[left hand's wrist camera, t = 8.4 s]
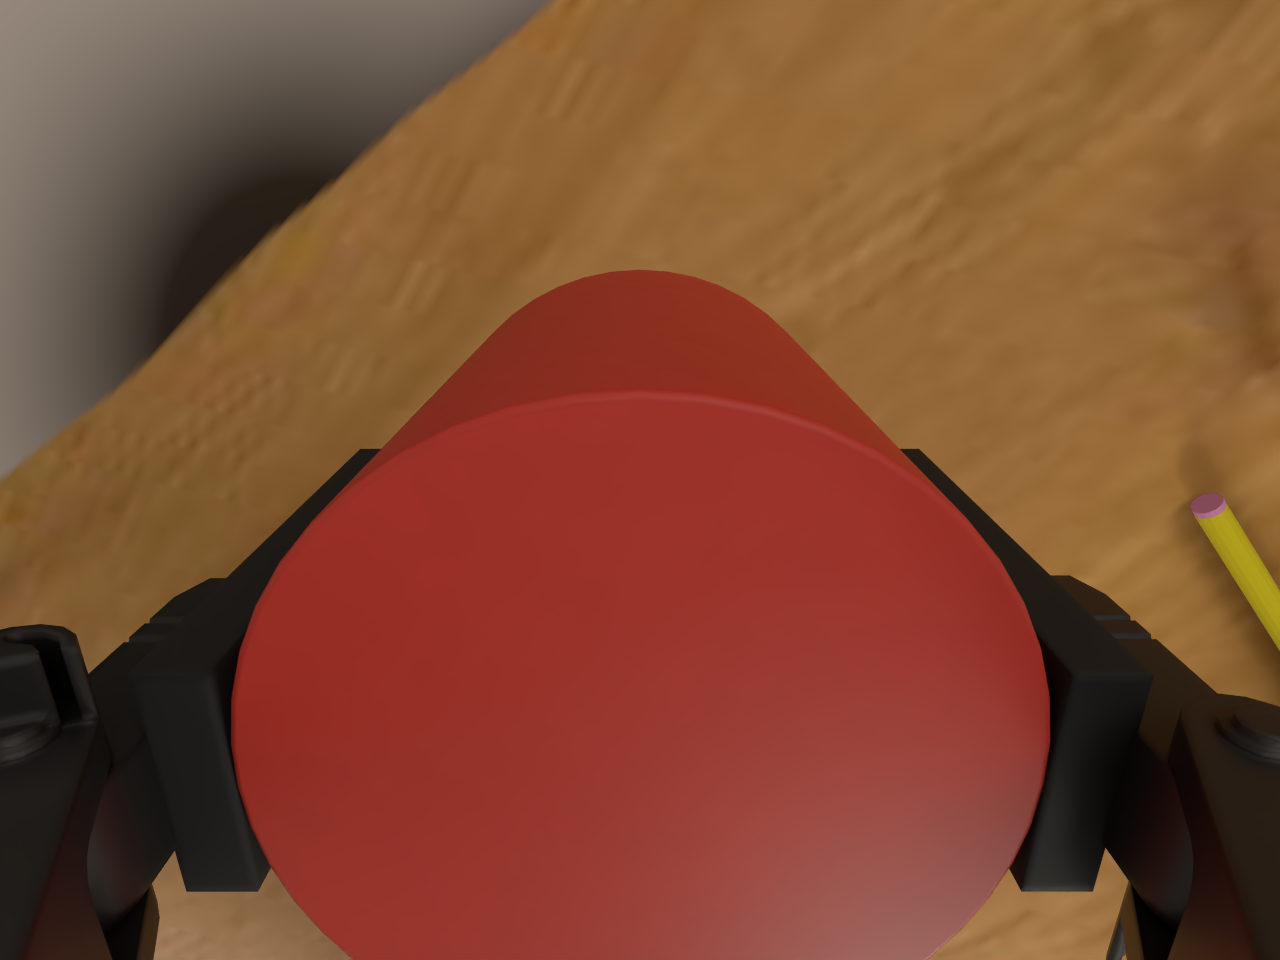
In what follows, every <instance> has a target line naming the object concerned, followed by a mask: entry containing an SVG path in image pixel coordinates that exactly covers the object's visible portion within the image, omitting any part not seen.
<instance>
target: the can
mask: <svg viewBox="0 0 1280 960" xmlns="http://www.w3.org/2000/svg"><path fill="white" fill-rule="evenodd" d="M1049 746H1050V697H1049V690H1048V684H1047V679H1046V673H1045V668H1044V662H1043V657H1042V651H1041V647H1040V644H1039V641H1038V639H1037V636H1036V633H1035V630H1034V628H1033V625H1032V622H1031V619H1030V617H1029V614H1028V611H1027V608H1026V606H1025V603H1024V601H1023V599H1022V598H1021V596H1020V594H1019V592H1018V591H1017V589H1016V587H1015V585H1014V584H1013V582H1012V580H1011V578H1010V576H1009V575H1008V573H1007V571H1006V569H1005V568H1004V566H1003V564H1002V562H1001V561H1000V559H999V558H998V557H997V555H996V554H995V553H994V552H993V550H992V549H991V548H990V547H989V545H988V544H987V543H986V542H985V540H984V539H983V538H982V537H981V535H980V534H979V533H978V532H977V530H976V529H975V528H974V527H973V525H972V524H971V523H970V522H969V520H968V519H967V518H966V517H965V516H964V515H963V514H962V513H961V512H960V511H959V510H958V509H957V508H956V507H955V506H954V505H953V504H952V503H951V502H950V501H949V500H948V498H947V497H946V496H945V495H944V494H943V493H942V492H941V491H940V490H939V489H938V488H937V487H936V486H935V485H934V484H933V483H932V482H931V481H930V480H929V479H928V478H927V477H926V476H925V475H924V474H923V473H922V472H921V471H920V470H919V469H918V468H917V466H916V465H915V464H914V463H913V462H912V461H911V460H910V459H909V458H908V457H907V456H906V455H905V454H904V453H903V452H902V451H901V450H900V449H899V448H898V447H897V446H896V445H895V444H894V443H893V442H892V441H891V440H890V439H889V438H888V437H887V435H886V434H885V433H884V432H883V431H882V430H881V429H880V428H879V427H878V426H877V425H876V424H875V423H874V422H873V421H872V420H871V419H870V418H869V417H868V416H867V415H866V414H865V413H864V412H863V411H862V410H861V409H860V408H859V407H858V406H857V405H856V403H855V402H854V401H853V400H852V399H851V398H850V397H849V396H848V395H847V394H846V393H845V392H844V391H843V390H842V389H841V388H840V387H839V386H838V385H837V384H836V383H835V382H834V381H833V380H832V379H831V378H830V377H829V376H828V375H827V374H826V372H825V371H824V370H823V369H822V368H821V367H820V366H819V365H818V364H817V363H816V362H815V361H814V360H813V359H812V358H811V357H810V356H809V355H808V354H807V353H806V352H805V351H804V350H803V349H802V348H801V347H800V346H799V345H798V344H797V343H796V342H795V340H794V339H793V338H792V337H791V336H790V335H789V334H788V333H787V332H786V331H785V330H784V329H783V328H781V327H780V326H779V325H778V324H777V323H776V322H775V321H774V320H773V319H772V318H771V317H770V316H769V315H767V314H766V313H765V312H763V311H762V310H760V309H759V308H758V307H756V306H755V305H753V304H752V303H750V302H749V301H748V300H746V299H745V298H743V297H741V296H739V295H737V294H735V293H733V292H731V291H729V290H727V289H725V288H723V287H721V286H719V285H716V284H713V283H710V282H707V281H704V280H701V279H698V278H696V277H691V276H686V275H681V274H676V273H671V272H665V271H649V270H631V271H617V272H609V273H604V274H599V275H594V276H589V277H585V278H582V279H579V280H576V281H573V282H571V283H568V284H565V285H562V286H559V287H557V288H555V289H553V290H551V291H549V292H548V293H546V294H544V295H542V296H540V297H538V298H536V299H534V300H533V301H531V302H530V303H528V304H527V305H526V306H524V307H523V308H521V309H520V310H519V311H517V312H516V313H514V314H513V315H512V316H511V317H510V318H509V319H508V320H506V321H505V322H504V323H503V324H502V325H501V326H500V327H499V328H498V329H497V330H496V331H495V332H494V333H493V334H492V335H491V336H490V337H489V338H488V339H487V340H486V341H485V342H484V343H483V344H482V345H481V346H480V347H479V348H478V349H477V350H476V351H475V352H474V353H473V354H472V356H471V357H470V358H469V359H468V360H467V361H466V362H465V363H464V364H463V365H462V366H461V367H460V368H459V369H458V370H457V371H456V372H455V373H454V374H453V375H452V376H451V377H450V378H449V379H448V380H447V381H446V382H445V384H444V385H443V386H442V387H441V388H440V389H439V390H438V391H437V392H436V393H435V394H434V395H433V396H432V397H431V398H430V399H429V400H428V401H427V402H426V403H425V404H424V405H423V406H422V407H421V408H420V409H419V411H418V412H417V413H416V414H415V415H414V416H413V417H412V418H411V419H410V420H409V421H408V422H407V423H406V424H405V425H404V426H403V427H402V428H401V429H400V430H399V431H398V432H397V433H396V434H395V435H394V436H393V438H392V439H391V440H390V441H389V442H388V443H387V444H386V445H385V446H384V447H383V448H382V449H381V450H380V451H379V452H378V453H377V454H376V455H375V456H374V457H373V458H372V459H371V460H370V461H369V462H368V463H367V464H366V466H365V467H364V468H363V469H362V470H361V471H360V472H359V473H358V474H357V475H356V476H355V477H354V478H353V479H352V480H351V481H350V482H349V483H348V484H347V485H346V486H345V487H344V488H343V489H342V490H341V491H340V493H339V494H338V495H337V496H336V497H335V498H334V499H333V500H332V501H331V502H330V503H329V504H328V505H327V506H326V507H325V508H324V509H323V510H322V511H321V512H320V513H319V514H318V515H317V516H316V517H315V518H314V520H313V521H312V522H311V523H310V524H309V525H308V527H307V528H306V529H305V531H304V532H303V533H302V534H301V536H300V537H299V538H298V539H297V541H296V542H295V543H294V545H293V546H292V547H291V548H290V550H289V551H288V552H287V553H286V555H285V556H284V557H283V558H282V560H281V561H280V562H279V564H278V566H277V568H276V570H275V571H274V573H273V575H272V577H271V579H270V580H269V582H268V584H267V586H266V588H265V589H264V591H263V593H262V595H261V597H260V598H259V600H258V602H257V604H256V606H255V608H254V611H253V614H252V617H251V620H250V622H249V625H248V628H247V631H246V634H245V637H244V639H243V642H242V645H241V648H240V651H239V657H238V663H237V668H236V674H235V680H234V685H233V691H232V698H231V747H232V753H233V760H234V766H235V772H236V779H237V785H238V789H239V792H240V795H241V798H242V801H243V804H244V807H245V811H246V814H247V817H248V820H249V823H250V826H251V828H252V830H253V832H254V834H255V836H256V838H257V840H258V842H259V845H260V847H261V849H262V851H263V853H264V855H265V857H266V859H267V861H268V863H269V865H270V866H271V868H272V869H273V871H274V872H275V874H276V875H277V877H278V878H279V879H280V881H281V882H282V884H283V885H284V887H285V888H286V890H287V891H288V893H289V894H290V896H291V897H292V898H293V900H294V901H295V902H296V903H297V904H298V906H299V907H300V908H301V909H302V910H303V911H304V912H305V913H306V915H307V916H308V917H309V918H310V919H311V920H312V921H313V922H314V924H315V925H316V926H317V927H318V928H319V929H320V930H321V931H322V932H323V933H324V934H325V935H326V936H327V937H328V938H329V939H331V940H332V941H333V942H334V943H335V944H336V945H337V946H339V947H340V948H341V949H342V950H343V951H344V952H345V953H346V954H348V955H349V956H350V957H351V958H352V959H353V960H928V959H929V958H930V957H931V956H932V955H933V954H934V953H936V952H937V951H938V950H939V949H940V948H941V947H942V946H943V945H945V944H946V943H947V942H948V941H949V940H950V939H951V938H952V937H954V936H955V935H956V934H957V933H958V932H959V931H960V930H961V929H962V928H963V927H964V926H965V925H966V923H967V922H968V921H969V920H970V919H971V918H972V917H973V916H974V914H975V913H976V912H977V911H978V910H979V909H980V908H981V906H982V905H983V904H984V903H985V902H986V901H987V900H988V899H989V897H990V896H991V894H992V893H993V891H994V890H995V888H996V887H997V885H998V884H999V882H1000V881H1001V879H1002V878H1003V876H1004V875H1005V873H1006V872H1007V870H1008V869H1009V867H1010V866H1011V864H1012V863H1013V861H1014V859H1015V857H1016V855H1017V853H1018V851H1019V849H1020V846H1021V844H1022V842H1023V840H1024V838H1025V836H1026V834H1027V832H1028V830H1029V828H1030V826H1031V823H1032V820H1033V817H1034V814H1035V811H1036V807H1037V804H1038V801H1039V798H1040V795H1041V792H1042V788H1043V785H1044V780H1045V773H1046V766H1047V760H1048V753H1049Z"/></svg>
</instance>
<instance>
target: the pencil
mask: <svg viewBox="0 0 1280 960" xmlns="http://www.w3.org/2000/svg"><path fill="white" fill-rule="evenodd" d="M1190 509H1191V510H1192V512H1193V515H1194V516H1195V518H1196V519H1197V521H1198V523H1199V524H1200V526H1201V527H1202V529H1203V530H1204V532H1205V534H1206V535H1207V537H1208V538H1209V540H1210V542H1211V543H1212V545H1213V546H1214V548H1215V549H1216V551H1217V553H1218V554H1219V556H1220V557H1221V559H1222V561H1223V562H1224V564H1225V565H1226V567H1227V568H1228V570H1229V572H1230V573H1231V575H1232V576H1233V578H1234V580H1235V581H1236V583H1237V584H1238V586H1239V587H1240V589H1241V591H1242V592H1243V594H1244V595H1245V597H1246V599H1247V600H1248V602H1249V603H1250V605H1251V606H1252V608H1253V610H1254V611H1255V613H1256V614H1257V616H1258V618H1259V619H1260V621H1261V622H1262V624H1263V625H1264V627H1265V629H1266V630H1267V632H1268V633H1269V635H1270V637H1271V638H1272V640H1273V641H1274V643H1275V644H1276V646H1277V648H1278V649H1279V651H1280V590H1279V589H1278V587H1277V585H1276V584H1275V582H1274V580H1273V579H1272V577H1271V576H1270V574H1269V572H1268V571H1267V569H1266V567H1265V566H1264V564H1263V562H1262V561H1261V559H1260V558H1259V556H1258V554H1257V553H1256V551H1255V549H1254V548H1253V546H1252V544H1251V543H1250V541H1249V539H1248V538H1247V536H1246V535H1245V533H1244V531H1243V530H1242V528H1241V526H1240V525H1239V523H1238V521H1237V520H1236V518H1235V517H1234V515H1233V513H1232V512H1231V510H1230V508H1229V507H1228V505H1227V503H1226V501H1225V500H1224V498H1223V497H1222V496H1221V495H1220V494H1217V493H1207V494H1204V495H1201V496H1199V497H1197V498H1196V499H1194V500H1193V501H1192V503H1191V504H1190Z"/></svg>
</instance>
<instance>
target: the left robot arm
mask: <svg viewBox="0 0 1280 960" xmlns="http://www.w3.org/2000/svg"><path fill="white" fill-rule="evenodd" d="M380 450H381V449H360V450H359V451H358V452H357V453H356V454H355V455H354V456H353V457H352V458H351V459H350V460H349V461H347V462H346V463H345V464H344V465H343V466H342V467H341V468H340V469H339V470H338V471H337V472H336V473H335V474H334V475H333V476H332V477H331V478H330V479H329V480H328V481H327V482H326V483H325V484H324V485H323V486H322V487H320V488H319V489H318V490H317V491H316V492H315V493H314V494H313V495H312V496H311V497H310V498H309V499H308V500H307V501H306V502H305V503H304V504H303V505H302V506H301V507H300V508H299V509H298V510H297V511H296V512H295V513H293V514H292V515H291V516H290V517H289V518H288V519H287V520H286V521H285V522H284V523H283V524H282V525H281V526H280V527H279V528H278V529H277V530H276V531H275V532H274V533H273V534H272V535H271V536H270V537H269V538H268V539H266V540H265V541H264V542H263V543H262V544H261V545H260V546H259V547H258V548H257V549H256V550H255V551H254V552H253V553H252V554H251V555H250V556H249V557H248V558H247V559H246V560H245V561H244V562H243V563H242V564H241V565H239V566H238V567H237V568H236V569H235V570H234V571H233V572H232V573H231V574H230V575H229V576H228V577H227V578H210V579H208V580H206V581H204V582H202V583H200V584H199V585H197V586H195V587H193V588H191V589H189V590H187V591H185V592H183V593H181V594H179V595H177V596H176V597H174V598H173V599H172V600H171V601H170V602H168V603H167V604H166V605H165V606H164V607H163V608H162V609H161V610H159V611H158V612H157V613H156V614H155V615H154V616H153V617H152V618H151V619H150V623H149V624H144V625H143V626H142V627H140V628H139V629H138V630H137V631H136V632H135V633H134V634H133V635H132V636H130V637H129V642H124V643H123V644H122V645H120V646H119V647H118V648H117V649H116V650H115V651H114V652H113V653H111V654H110V655H109V656H108V657H107V658H106V659H105V660H104V661H103V662H101V663H100V664H99V665H98V666H97V667H96V668H95V669H94V670H93V671H91V672H90V673H89V674H88V672H87V669H86V666H85V662H84V659H83V656H82V652H81V649H80V646H79V643H78V639H77V636H76V634H75V633H73V632H71V631H70V630H68V629H66V628H65V627H62V626H52V625H43V624H38V625H28V626H19V627H10V628H6V629H2V630H0V960H153V958H154V952H155V945H156V938H157V932H158V925H159V919H160V917H159V910H158V903H157V899H156V895H155V892H154V889H153V885H152V882H153V881H154V880H155V878H156V877H157V875H158V874H159V872H160V871H161V869H162V868H163V867H164V865H165V864H166V862H167V861H168V859H169V858H170V856H171V855H172V854H173V852H174V851H175V853H176V856H177V860H178V863H179V867H180V870H181V874H182V877H183V881H184V884H185V888H186V891H187V892H258V890H259V889H260V887H261V885H262V883H263V881H264V879H265V877H266V875H267V874H268V872H269V870H270V868H271V866H270V865H269V863H268V861H267V859H266V857H265V855H264V853H263V851H262V849H261V847H260V845H259V842H258V840H257V838H256V836H255V834H254V832H253V830H252V828H251V826H250V823H249V820H248V817H247V814H246V811H245V807H244V804H243V801H242V798H241V795H240V792H239V789H238V785H237V779H236V772H235V766H234V760H233V753H232V747H231V698H232V691H233V685H234V680H235V674H236V668H237V663H238V657H239V651H240V648H241V645H242V642H243V639H244V637H245V634H246V631H247V628H248V625H249V622H250V620H251V617H252V614H253V611H254V608H255V606H256V604H257V602H258V600H259V598H260V597H261V595H262V593H263V591H264V589H265V588H266V586H267V584H268V582H269V580H270V579H271V577H272V575H273V573H274V571H275V570H276V568H277V566H278V564H279V562H280V561H281V560H282V558H283V557H284V556H285V555H286V553H287V552H288V551H289V550H290V548H291V547H292V546H293V545H294V543H295V542H296V541H297V539H298V538H299V537H300V536H301V534H302V533H303V532H304V531H305V529H306V528H307V527H308V525H309V524H310V523H311V522H312V521H313V520H314V518H315V517H316V516H317V515H318V514H319V513H320V512H321V511H322V510H323V509H324V508H325V507H326V506H327V505H328V504H329V503H330V502H331V501H332V500H333V499H334V498H335V497H336V496H337V495H338V494H339V493H340V491H341V490H342V489H343V488H344V487H345V486H346V485H347V484H348V483H349V482H350V481H351V480H352V479H353V478H354V477H355V476H356V475H357V474H358V473H359V472H360V471H361V470H362V469H363V468H364V467H365V466H366V464H367V463H368V462H369V461H370V460H371V459H372V458H373V457H374V456H375V455H376V454H377V453H378V452H379V451H380ZM900 450H901V451H902V452H903V453H904V454H905V455H906V456H907V457H908V458H909V459H910V460H911V461H912V462H913V463H914V464H915V465H916V466H917V468H918V469H919V470H920V471H921V472H922V473H923V474H924V475H925V476H926V477H927V478H928V479H929V480H930V481H931V482H932V483H933V484H934V485H935V486H936V487H937V488H938V489H939V490H940V491H941V492H942V493H943V494H944V495H945V496H946V497H947V498H948V500H949V501H950V502H951V503H952V504H953V505H954V506H955V507H956V508H957V509H958V510H959V511H960V512H961V513H962V514H963V515H964V516H965V517H966V518H967V519H968V520H969V522H970V523H971V524H972V525H973V527H974V528H975V529H976V530H977V532H978V533H979V534H980V535H981V537H982V538H983V539H984V540H985V542H986V543H987V544H988V545H989V547H990V548H991V549H992V550H993V552H994V553H995V554H996V555H997V557H998V558H999V559H1000V561H1001V562H1002V564H1003V566H1004V568H1005V569H1006V571H1007V573H1008V575H1009V576H1010V578H1011V580H1012V582H1013V584H1014V585H1015V587H1016V589H1017V591H1018V592H1019V594H1020V596H1021V598H1022V599H1023V601H1024V603H1025V606H1026V608H1027V611H1028V614H1029V617H1030V619H1031V622H1032V625H1033V628H1034V630H1035V633H1036V636H1037V639H1038V641H1039V644H1040V647H1041V651H1042V657H1043V662H1044V668H1045V673H1046V679H1047V684H1048V690H1049V697H1050V746H1049V753H1048V760H1047V766H1046V773H1045V780H1044V785H1043V788H1042V792H1041V795H1040V798H1039V801H1038V804H1037V807H1036V811H1035V814H1034V817H1033V820H1032V823H1031V826H1030V828H1029V830H1028V832H1027V834H1026V836H1025V838H1024V840H1023V842H1022V844H1021V846H1020V849H1019V851H1018V853H1017V855H1016V857H1015V859H1014V861H1013V863H1012V864H1011V866H1010V867H1009V869H1010V871H1011V873H1012V875H1013V876H1014V878H1015V880H1016V882H1017V884H1018V886H1019V888H1020V890H1021V891H1093V889H1094V886H1095V882H1096V879H1097V875H1098V871H1099V868H1100V864H1101V861H1102V857H1103V854H1104V850H1105V847H1106V849H1107V850H1108V852H1109V853H1110V854H1111V856H1112V857H1113V859H1114V860H1115V862H1116V863H1117V864H1118V866H1119V867H1120V869H1121V870H1122V872H1123V873H1124V874H1125V876H1126V877H1127V879H1128V880H1129V882H1128V885H1127V889H1126V892H1125V895H1124V899H1123V902H1122V905H1121V908H1120V912H1119V915H1118V918H1117V922H1116V925H1115V928H1114V931H1113V935H1112V938H1111V941H1110V945H1109V948H1108V951H1107V956H1106V960H1121V959H1122V956H1124V955H1125V954H1126V956H1127V960H1280V707H1279V706H1275V705H1272V704H1269V703H1265V702H1262V701H1258V700H1255V699H1251V698H1248V697H1242V696H1234V695H1225V694H1217V693H1216V692H1215V691H1214V690H1213V689H1212V688H1210V687H1209V686H1208V685H1207V684H1206V683H1205V682H1204V681H1203V680H1201V679H1200V678H1199V677H1198V676H1197V675H1196V674H1195V673H1194V672H1192V671H1191V670H1190V669H1189V668H1188V667H1187V666H1186V665H1185V664H1184V663H1182V662H1181V661H1180V660H1179V659H1178V658H1177V657H1176V656H1175V655H1173V654H1172V653H1171V652H1170V651H1169V650H1168V649H1167V648H1166V647H1164V646H1163V645H1162V644H1161V643H1160V642H1159V641H1158V640H1157V639H1151V634H1150V633H1149V632H1148V631H1146V630H1145V629H1144V628H1143V627H1142V626H1141V625H1140V624H1139V623H1137V622H1136V621H1131V620H1130V615H1128V614H1127V613H1126V612H1125V611H1124V610H1123V609H1122V608H1121V607H1119V606H1118V605H1117V604H1116V603H1115V602H1114V601H1113V600H1112V599H1110V598H1109V597H1108V596H1107V595H1106V594H1104V593H1102V592H1100V591H1098V590H1096V589H1095V588H1093V587H1091V586H1089V585H1087V584H1085V583H1083V582H1081V581H1079V580H1077V579H1075V578H1073V577H1071V576H1050V575H1049V574H1048V573H1047V572H1046V571H1045V570H1044V569H1043V568H1042V567H1041V566H1040V565H1039V564H1038V563H1037V562H1036V561H1035V560H1034V559H1033V558H1032V557H1031V556H1030V555H1029V554H1027V553H1026V552H1025V551H1024V550H1023V549H1022V548H1021V547H1020V546H1019V545H1018V544H1017V543H1016V542H1015V541H1014V540H1013V539H1012V538H1011V537H1010V536H1009V535H1008V534H1007V533H1006V532H1005V531H1004V530H1003V529H1002V528H1000V527H999V526H998V525H997V524H996V523H995V522H994V521H993V520H992V519H991V518H990V517H989V516H988V515H987V514H986V513H985V512H984V511H983V510H982V509H981V508H980V507H979V506H978V505H977V504H976V503H975V502H973V501H972V500H971V499H970V498H969V497H968V496H967V495H966V494H965V493H964V492H963V491H962V490H961V489H960V488H959V487H958V486H957V485H956V484H955V483H954V482H953V481H952V480H951V479H950V478H949V477H948V476H946V475H945V474H944V473H943V472H942V471H941V470H940V469H939V468H938V467H937V466H936V465H935V464H934V463H933V462H932V461H931V460H930V459H929V458H928V457H927V456H926V455H925V454H924V453H923V452H922V451H921V450H920V449H900Z"/></svg>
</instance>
